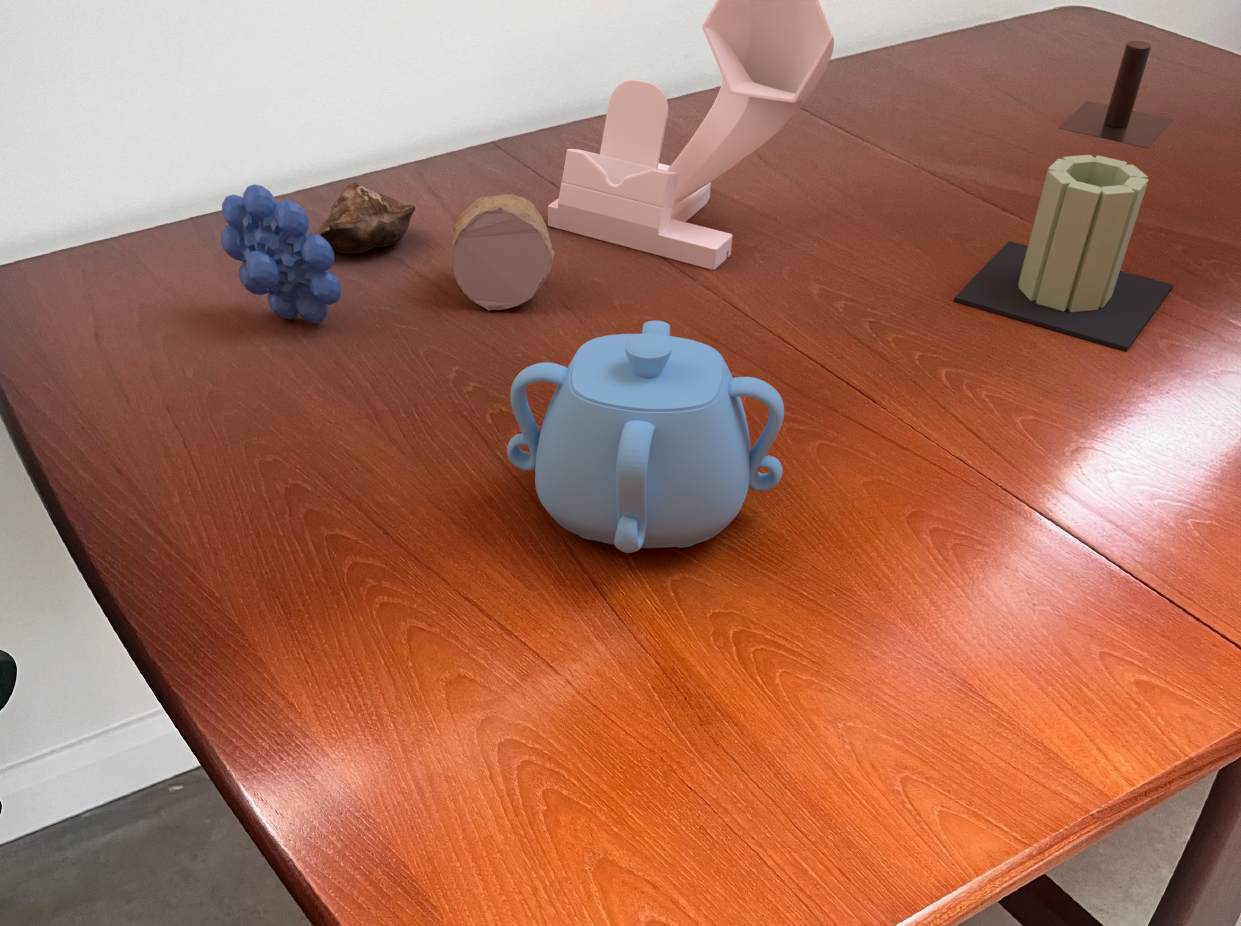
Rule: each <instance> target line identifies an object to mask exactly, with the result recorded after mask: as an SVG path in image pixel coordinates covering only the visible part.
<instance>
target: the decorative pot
mask: <svg viewBox="0 0 1241 926" xmlns="http://www.w3.org/2000/svg"><path fill="white" fill-rule="evenodd" d="M535 383H549V384H554V385H557V386H556V389H555V391H554V392H553V395H552V397H551V399H550V402H549V404H548V406H547V408H546V411H545V415H544V418H543V421H542V424H541V428H539V426H538V424H537V422H536V420H535V417H534V415H533V412H532V410H531V408H530V405H529V401H528V397H527V391H526V389H527V387H528V386H529V385H532V384H535ZM509 394H510V395H509V397H510V405H511V409H512V412H513V415H514V418H515V420H516V423H517V425H518V427H519V429H520V431H521V432H520V433H517V434H515V435H513V436H512V437H511V438H510V440H509V441H508V444H507V447H506V448H507V449H506V453H507V458H508V460H509V462H510V463H511V465H513V466H514V467H515V468H516V469H519V470H522V471H525V472H532V471H534V472H535V473H534V474H535V475H534V482H535V491H536V494H537V497H538V499H539V502H540V504H541V505H542V506H543V508H544V509H545V510H546V512H547V513H548V514H549V515H550V516H551V518H552V519H553V520H555V522H557V524H558V525H560V526H561V527H562V528H563V529H565V530H567V531H569V532H570V533H572V534H574V535H578V536H579V537H580V538H582V539H585V540H588V541H589V540H591V541H596V542H600V543H604V544H609V545H614V547H615V548H616V549H617V550H618V551H620V552H623V553H625V554H632V553H635V552H638V551H639V550H640V549H664V548H688V547H692V546H694V545H696V544H700V543H703V542H706V541H709V540H710V539H713V538H714V537H716V536H717V535H719V534H720V533H721V532H723V530H725V529H726V528H727V527H728V526H729V525H730V524H731V522H733V520H735V518H736V517H737V516H738V515H739V513H740V511H741V508H742V507H743V505H744V502H745V500H746V498H747V494H748V493H749V492H748V491H749V489H750V490H752V491H754V492H766V491H770V490H772V489H774V488H776V487H777V486H778V485H779V483H780V482H781V480H782V477H783V473H784V472H783V465H782V463H781V462H780V460H779V459H778V458H776V456H772V455H767V454H768V452H769V451H770V449H771V447H772V445H773V444H774V442H775V440H776V439H777V436H778V434H779V433H780V430H781V427H782V425H783V422H784V417H785V406H784V401H783V398H782V396H781V394H780V393H779V392H778V390H776V388H775V387H774V386H773V385H771V384H770V383H768V382H766V381H765V380H762V379H760V378H757V377H752V376H735V377H733V375H732V372H731V371H730V368H729V366H728V364H727V362H726V361H725V359H724V357H723V355H722V354H721V352H719V351H718V350H717V349H715V348H713V347H712V346H710V345H709V344H705V343H703V342H701V341H697V340H694V339H690V338H685V337H679V336H675V335H674V336H673V335H671V325H670V324H669V323H668V322H666V321H663V320H648V321H645V322H644V323H643V325H642V328H641V333H619V334H609V335H603V336H600V337H599V336H598V337H595V338H592V339H590V340H588V341H586V342H585V343H583V344H582V345H581V346H580V347H579V348H578V350H577V351H576V352H575V354H574V355H573V357H572V359H571V361H570V363H569V364H568V366H564V365H561V364H559V363H554V362H547V361H546V362H537V363H534V364H531V365H529V366H527V367H525V368H524V369H522V370H521V371H520V372H519V373H518V374H517V375H516V376H515V378H514V380H513V382H512V384H511V387H510V393H509ZM742 397H743V398H752V399H755V400H757V401H759V402H761V403H763V404H764V405H765V406H766V407H767V408H768V412H769V413H768V417H767V421H766V423H765V427H764V428H763V430H762V432H761V433H760V435H759V436H758V438H757V440H756V441H755V443H754V445H753V447H752V448H751V439H750V432H749V431H750V429H749V425H748V420H747V415H746V411H745V408H744V404H743V400H742ZM520 446H525V447H528V450H529V452H527V451H524V450H523V449H521V447H520ZM758 469H768V470H769V471H770V472H766V473H765V472H763V473H761V472H759V471H758Z"/></svg>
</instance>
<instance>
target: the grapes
mask: <svg viewBox="0 0 1241 926" xmlns="http://www.w3.org/2000/svg"><path fill="white" fill-rule="evenodd" d="M221 214H222V216H223V220H224V221H225V222H226V223H227V225H225V226H224V227H223V229H222V231H221V232H220V243H221V246H222V249H223V250H224V251H225V253H226V254H227V256H229V257H231V258H232V259H234V261H238V262H242V263H241V264H240V265H239V268H238V278H239V280H240V283H241V285H242V286H243V287H244V289H245V290H246V291H248V292H250V293H251V294H253V295H257V296H263V295H266V294H267V302H268V304H269V305H268V306H269V307H270V309H271V310H272V312H273V313H274V314H275V315H276V316H279V318H281V319H284V320H289V321H290V320H292V319H295V318H297V317H298V316H299V315H300V316H301V318H302V319H304V320H305V321H307V322H309V323H312V324H319V323H322V322H324V321H325V320H326V318H327V317H328V316H329V315H328V314H329V306H331V305H334V304H336V303H339V300H340V298H341V297H342V285H341V283H340V281H339V279H338V278H337V276H336V275H335V274H334V273H333V272H332V271H330V269H331V268H332V266H333V265H334V263H335V251H334V250H333V249H332V247H331V245H330V244H329V243H328V241H327V240H326V239H325V238H323V237H322V236H320V235H317V234H316V233H313V232H312V233H309V234H308V231H309V230H310V220H309V217H308V215H307V213H306V211H305V210H304V209H303V207H302V206H301V205H299V204H298V203H297V202H295V201H292V200H289V199H284V200H281V201H279V202H277V200H276V198H275V196H274V195H273V194H272V193H271V191H270V190H268V189H267V188H266V187H265V186H263V185H260V184H251V185H248V186H247V187H246V188H245V190H244V192H243V194H242V195H237V194H235V193H232V194H230V195H227V196H225V198H224V199H223V201H222V203H221Z"/></svg>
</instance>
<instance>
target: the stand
mask: <svg viewBox="0 0 1241 926" xmlns="http://www.w3.org/2000/svg"><path fill="white" fill-rule="evenodd" d="M1151 50H1152V44H1151V43H1149V42H1147V41H1143V40H1129V41H1127V42H1126V44H1125V46H1124V51H1123V54H1122V57H1121V61H1120V65H1119V68H1118V72H1117V76H1116V79H1115V82H1114V86H1113V90H1112V92H1111V97H1110V100H1109V104H1108V105H1107V104H1104V103H1099V102H1094V101H1089V100H1086V101H1085V102H1084V103H1083V104H1082V105H1081V106H1080V107H1079V108H1078V109H1077V110H1075V111H1074V112H1073V114H1071V115H1070V116H1069V117H1068V118H1067V119H1066V120H1065V121H1064V122H1063V123H1062V124H1061V125H1060V126H1059V127H1058V129H1059V130H1064V131H1067V132H1073V133H1078V134H1082V135H1086V136H1090V137H1094V138H1095V137H1096V138H1100V139H1104V140H1108V141H1113V142H1117V143H1122V144H1126V145H1131V146H1135V147H1139V148H1144V149H1149V147H1150V146H1151V145H1152V144H1153V143H1154V142H1155V141H1156V139H1158V137H1159V136H1160V135H1161V134H1162V133H1163V132H1164V130H1165V129H1166V128H1167V127H1168V126H1169V125H1170V124H1171V123H1172V122H1173V121H1174V119H1173V118H1169V117H1163V116H1159V115H1155V114H1149V113H1146V112H1141V111H1136V110H1134V106H1135V103H1136V100H1137V96H1138V93H1139V90H1140V86H1141V83H1142V80H1143V76H1144V73H1145V70H1146V65H1147V63H1148V60H1149V56H1150V52H1151Z"/></svg>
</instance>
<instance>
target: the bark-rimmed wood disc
mask: <svg viewBox="0 0 1241 926" xmlns="http://www.w3.org/2000/svg"><path fill="white" fill-rule="evenodd" d="M452 230H453V233H454V235H453V237H452V245H451V267H452V272H453V276H454V278H455V281H456V283H457V284H458V286H459V287H460V290H461V292H462V294H464V296H466V297H467V298H468V299H469V300H470V301H472V302H473V303H474V304H475V305H478V306H480V307H482V308H484V309H485V310H487V311H489V312H490V311H501V310H507V309H512V308H515V307H519V306H520V305H522V304H523V303H526V302H527V301H529V300H532V299H533V298H534V297H535V296H536V294H537V292H538V291H539V289H540V288H541V287H542V286H543V284H544V283H545V282H546V281H547V279H548V278H549V277H550V274H551V273H550V272H551V269H552V266H553V261H554V258H555V251H554V250H553V248H552V247H553V244H552V242H551V237H550V233H549V229H548V227H547V223H546V222H545V220H544V218H543V216H542V215H541V213H540V212H539V210H538V209H537V207H536V206H535V205H534V204H533V203H532V202H531V201H530V200H529V199H526V197H523V196H517V195H515V194H512V193H509V194H499V195H492V196H481V197H479V198H477V199H476V200H475V201H473V202H472V203H471V204H470V205H469V206H468V207H467V208H466V209H465V210H463V211H462V212H461V213H460V214H459V215H458V219H457V221H456V223H455V224H454V225H453V226H452Z"/></svg>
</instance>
